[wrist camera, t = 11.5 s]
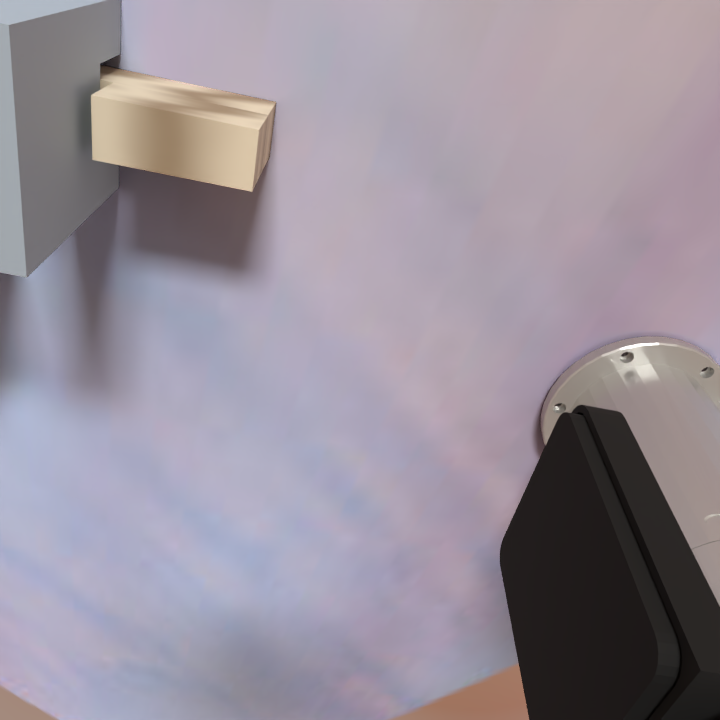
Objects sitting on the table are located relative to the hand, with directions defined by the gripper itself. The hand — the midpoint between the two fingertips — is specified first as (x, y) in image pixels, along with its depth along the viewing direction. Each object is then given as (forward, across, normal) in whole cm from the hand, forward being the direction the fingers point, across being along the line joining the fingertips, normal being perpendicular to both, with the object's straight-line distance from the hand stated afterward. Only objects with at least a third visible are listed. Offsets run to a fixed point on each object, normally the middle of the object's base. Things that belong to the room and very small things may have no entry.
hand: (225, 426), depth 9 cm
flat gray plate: (+30, +13, +4) cm, 33 cm away
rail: (+30, +13, +4) cm, 33 cm away
